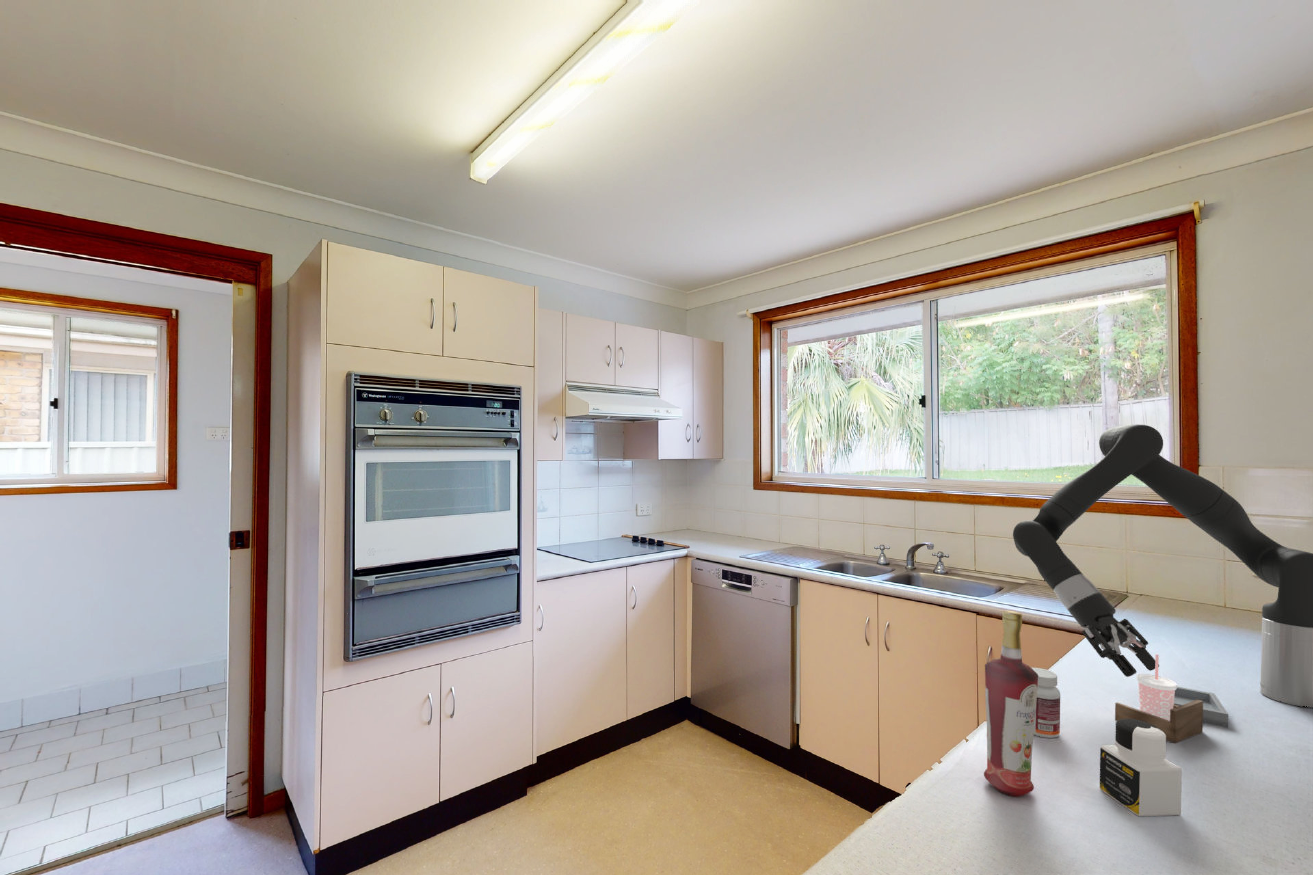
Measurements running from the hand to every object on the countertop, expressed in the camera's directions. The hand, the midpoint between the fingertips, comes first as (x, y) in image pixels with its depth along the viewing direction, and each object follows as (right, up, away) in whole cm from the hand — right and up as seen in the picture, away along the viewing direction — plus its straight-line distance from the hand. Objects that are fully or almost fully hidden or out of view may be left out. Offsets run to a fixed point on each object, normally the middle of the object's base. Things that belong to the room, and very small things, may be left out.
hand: (1143, 671), depth 119 cm
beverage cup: (+1, -10, -2) cm, 10 cm away
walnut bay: (+1, -10, -2) cm, 10 cm away
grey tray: (+13, -10, +6) cm, 18 cm away
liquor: (-42, -9, -25) cm, 50 cm away
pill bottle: (-25, -9, -6) cm, 27 cm away
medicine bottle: (-24, -9, -28) cm, 38 cm away
